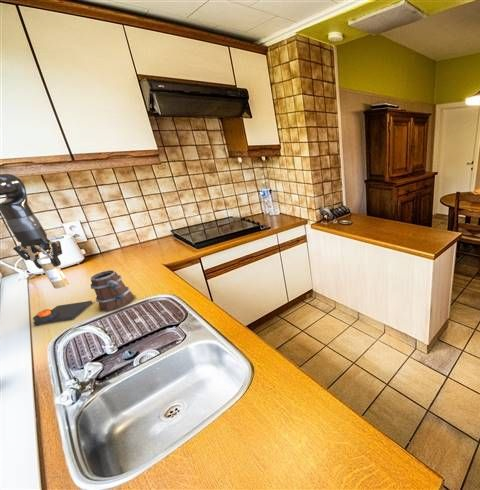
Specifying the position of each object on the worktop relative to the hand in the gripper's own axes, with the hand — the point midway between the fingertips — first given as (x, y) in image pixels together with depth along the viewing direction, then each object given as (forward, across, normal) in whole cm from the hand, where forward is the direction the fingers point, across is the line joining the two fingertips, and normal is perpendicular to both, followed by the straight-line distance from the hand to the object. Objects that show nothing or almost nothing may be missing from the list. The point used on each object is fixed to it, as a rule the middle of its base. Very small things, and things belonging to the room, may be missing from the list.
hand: (50, 266), depth 108 cm
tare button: (+19, +6, +5) cm, 21 cm away
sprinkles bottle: (+10, 0, 0) cm, 10 cm away
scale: (+22, +2, +2) cm, 22 cm away
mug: (+22, -18, +1) cm, 28 cm away
